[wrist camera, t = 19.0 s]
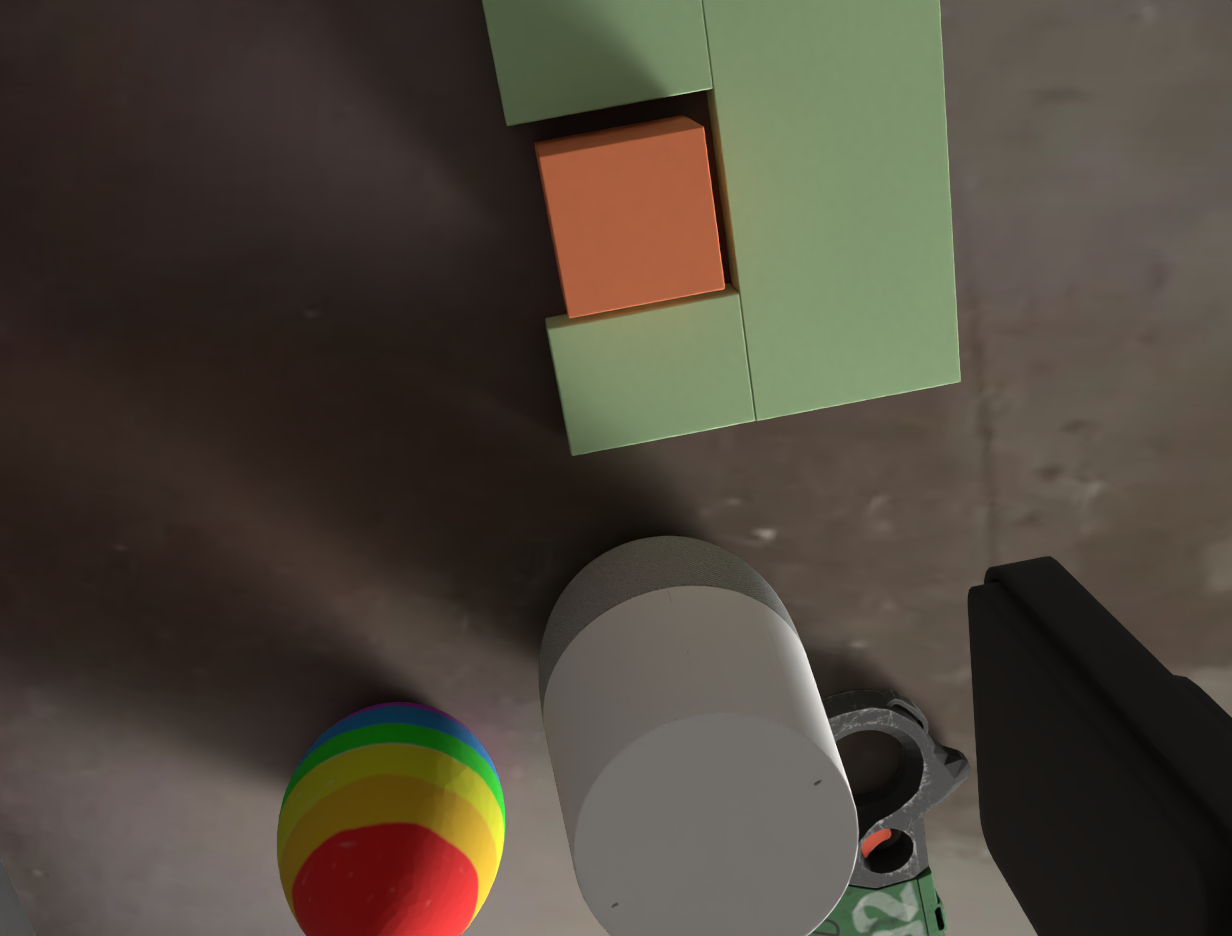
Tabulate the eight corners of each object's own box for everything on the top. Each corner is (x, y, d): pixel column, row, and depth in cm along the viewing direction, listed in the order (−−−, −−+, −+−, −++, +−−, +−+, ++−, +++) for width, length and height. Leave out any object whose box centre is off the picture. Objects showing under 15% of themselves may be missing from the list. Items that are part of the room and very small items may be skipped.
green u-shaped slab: (475, -34, 36) (475, -36, 34) (916, -113, 36) (933, -118, 35) (569, 442, 42) (571, 457, 40) (945, 369, 42) (961, 382, 41)
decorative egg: (350, 870, 48) (316, 1076, 39) (260, 716, 45) (199, 900, 35) (534, 803, 47) (544, 995, 38) (456, 643, 44) (446, 810, 35)
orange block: (533, 141, 38) (538, 156, 34) (683, 114, 38) (704, 126, 34) (561, 289, 40) (568, 318, 36) (703, 263, 40) (725, 289, 36)
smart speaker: (695, 465, 43) (782, 665, 30) (818, 640, 46) (945, 889, 33) (486, 602, 44) (483, 852, 31) (621, 762, 47) (669, 1048, 34)
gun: (1008, 979, 52) (793, 1039, 52) (995, 955, 53) (786, 1013, 53) (958, 681, 46) (714, 750, 46) (945, 662, 47) (708, 728, 47)
